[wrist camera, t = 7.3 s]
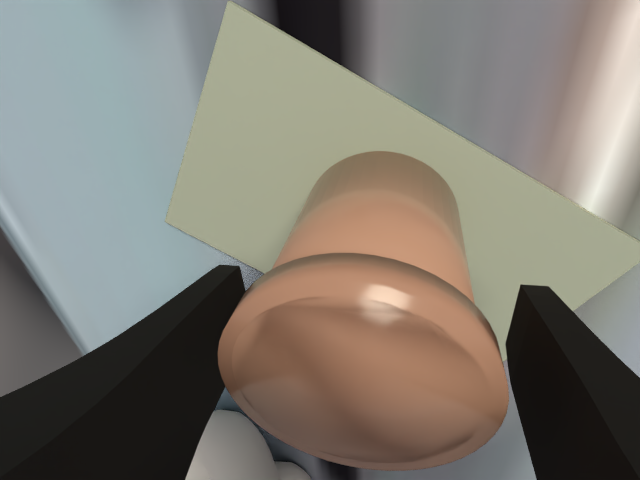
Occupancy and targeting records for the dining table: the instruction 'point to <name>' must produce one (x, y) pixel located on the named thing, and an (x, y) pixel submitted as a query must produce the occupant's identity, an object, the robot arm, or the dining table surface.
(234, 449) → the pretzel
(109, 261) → the dining table surface
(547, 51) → the dining table surface
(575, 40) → the dining table surface
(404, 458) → the terracotta pot
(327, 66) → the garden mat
